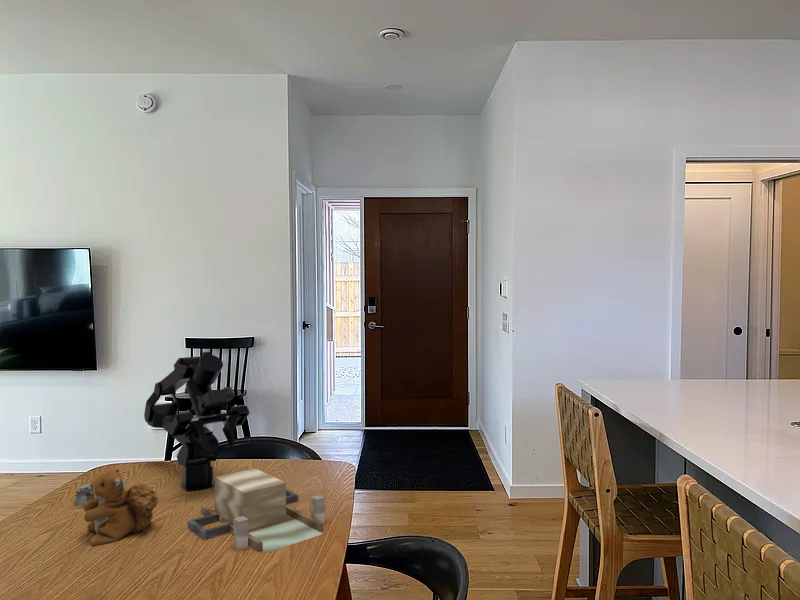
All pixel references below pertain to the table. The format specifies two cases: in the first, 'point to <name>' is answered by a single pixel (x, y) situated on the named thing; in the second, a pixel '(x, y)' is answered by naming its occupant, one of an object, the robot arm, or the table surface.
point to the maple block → (250, 497)
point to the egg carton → (86, 494)
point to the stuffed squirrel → (117, 508)
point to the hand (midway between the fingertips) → (221, 448)
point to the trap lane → (265, 527)
